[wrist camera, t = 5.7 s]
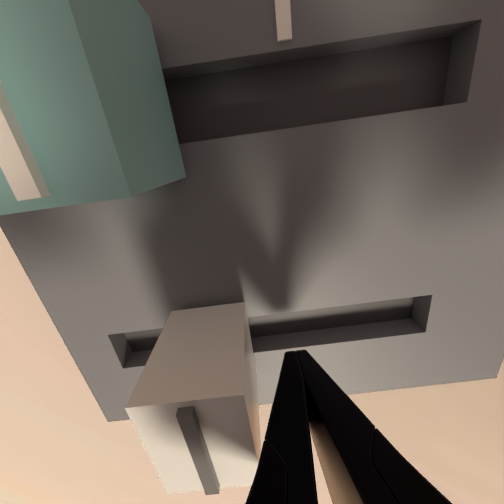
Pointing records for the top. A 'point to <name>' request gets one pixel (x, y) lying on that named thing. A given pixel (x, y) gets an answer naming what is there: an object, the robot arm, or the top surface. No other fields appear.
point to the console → (302, 198)
